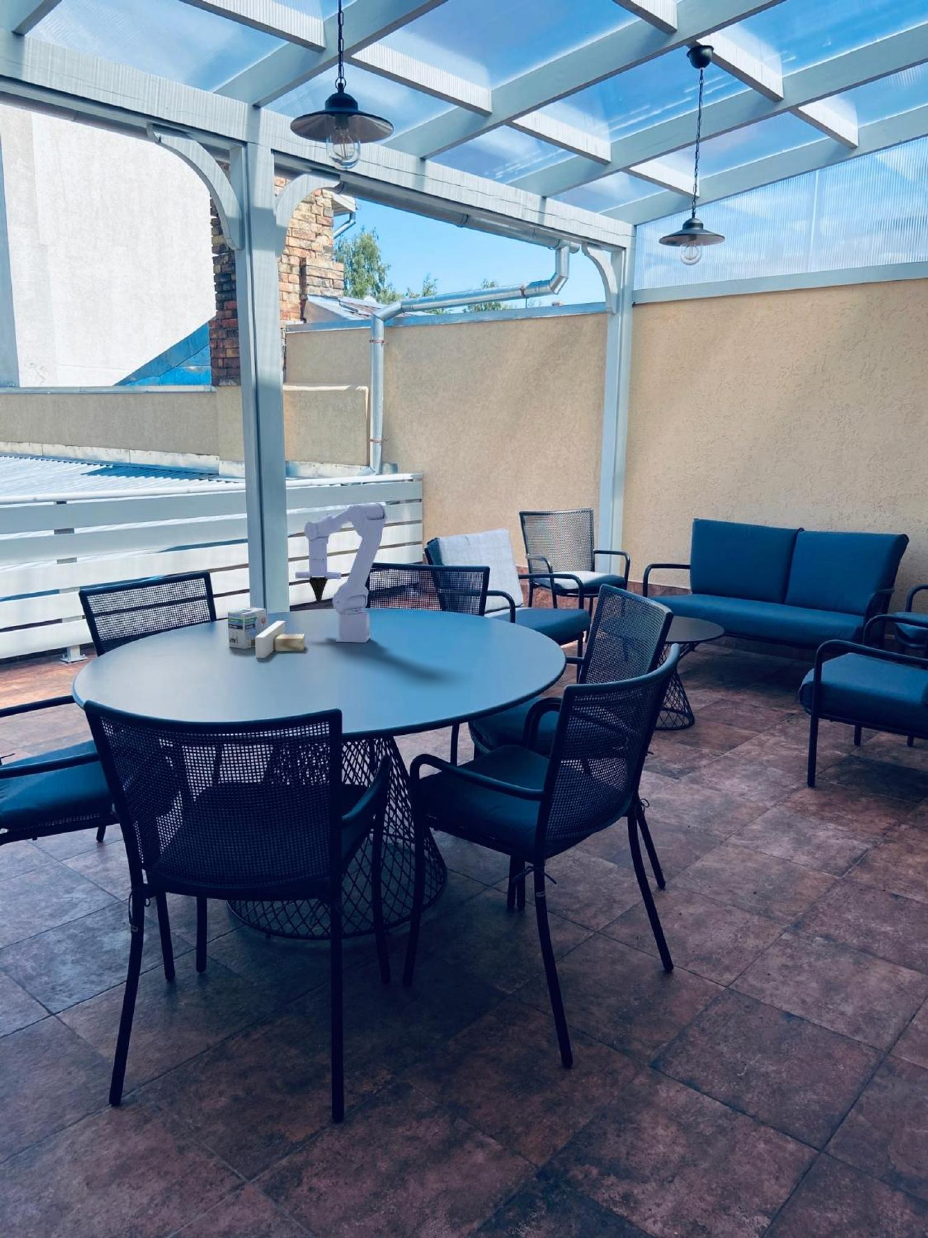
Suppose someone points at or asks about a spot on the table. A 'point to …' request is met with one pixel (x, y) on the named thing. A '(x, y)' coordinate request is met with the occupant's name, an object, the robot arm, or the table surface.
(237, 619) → the light bulb box
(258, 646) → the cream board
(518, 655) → the table surface
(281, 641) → the maple block
